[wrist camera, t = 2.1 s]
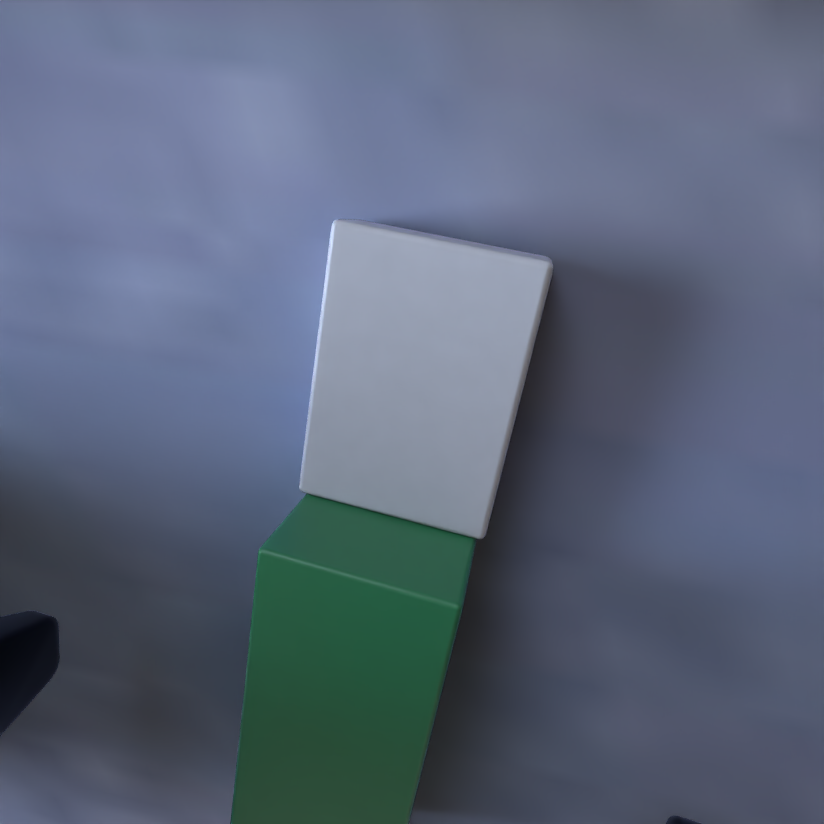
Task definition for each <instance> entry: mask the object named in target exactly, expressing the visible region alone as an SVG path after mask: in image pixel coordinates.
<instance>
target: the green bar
mask: <svg viewBox="0 0 824 824" xmlns="http://www.w3.org/2000/svg"><path fill="white" fill-rule="evenodd" d="M552 274H553V263H552V260H551V259H550V258H548V257H547V256H542V255H537V254H532V253H527V252H522V251H517V250H512V249H506V248H501V247H496V246H491V245H486V244H481V243H476V242H471V241H466V240H461V239H456V238H451V237H446V236H440V235H435V234H430V233H425V232H420V231H415V230H410V229H405V228H400V227H395V226H390V225H385V224H379V223H374V222H369V221H364V220H351V219H339V220H335V221H334V222H333V224H332V226H331V234H330V242H329V250H328V258H327V266H326V274H325V282H324V290H323V298H322V306H321V314H320V322H319V330H318V338H317V346H316V354H315V362H314V370H313V378H312V387H311V395H310V403H309V411H308V419H307V427H306V435H305V443H304V451H303V459H302V467H301V475H300V483H299V488H300V491H302V492H304V493H307V494H306V495H305V496H304V498H303V499H302V500H301V501H300V502H299V503H298V505H297V506H296V507H295V508H294V509H293V510H292V511H291V513H290V514H289V515H288V516H287V517H286V518H285V520H284V521H283V522H282V523H281V524H280V525H279V527H278V528H277V529H276V530H275V531H274V532H273V533H272V535H271V536H270V537H269V538H268V539H267V540H266V542H265V543H264V544H263V545H262V546H261V547H260V549H259V550H258V560H257V569H256V579H255V589H254V599H253V608H252V618H251V628H250V638H249V647H248V657H247V667H246V677H245V686H244V696H243V706H242V716H241V725H240V735H239V745H238V755H237V764H236V774H235V784H234V794H233V803H232V813H231V823H230V824H409V820H410V816H411V812H412V808H413V804H414V800H415V796H416V792H417V788H418V784H419V781H420V777H421V773H422V769H423V765H424V761H425V757H426V753H427V749H428V745H429V741H430V737H431V733H432V729H433V725H434V721H435V717H436V713H437V709H438V705H439V701H440V697H441V693H442V689H443V685H444V681H445V677H446V673H447V669H448V665H449V661H450V657H451V653H452V649H453V645H454V641H455V637H456V634H457V630H458V626H459V622H460V618H461V614H462V610H463V605H464V600H465V595H466V590H467V585H468V580H469V575H470V570H471V565H472V560H473V555H474V550H475V545H476V540H477V539H483V538H484V536H485V535H486V533H487V529H488V525H489V521H490V517H491V513H492V509H493V505H494V501H495V497H496V493H497V490H498V486H499V482H500V478H501V474H502V470H503V466H504V462H505V458H506V454H507V450H508V446H509V442H510V438H511V435H512V431H513V427H514V423H515V419H516V415H517V411H518V407H519V403H520V399H521V395H522V391H523V387H524V384H525V380H526V376H527V372H528V368H529V364H530V360H531V356H532V352H533V348H534V344H535V340H536V336H537V333H538V329H539V325H540V321H541V317H542V313H543V309H544V305H545V301H546V297H547V293H548V289H549V285H550V282H551V278H552Z"/></svg>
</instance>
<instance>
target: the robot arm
mask: <svg viewBox="0 0 824 824" xmlns="http://www.w3.org/2000/svg"><path fill="white" fill-rule="evenodd" d="M59 659H60V653H59V625H58V622H57V620H56V618H54V617H52V616H50V615H46V614H43V613H40V612H37V611H25V612H20V613H16V614H11V615H7V616H2V617H0V736H1V735H2V734H3V732H4V731H5V730H6V729H7V728H8V727H9V726H10V725H11V723H12V722H13V721H14V720H15V719H16V718H17V717H18V716H19V715H20V713H21V712H22V711H23V710H24V709H25V708H26V707H27V706H28V704H29V703H30V702H31V701H32V700H33V699H34V698H35V697H36V695H37V694H38V693H39V692H40V691H41V690H42V689H43V688H44V686H45V685H46V684H47V683H48V682H49V681H50V679H51V678H52V677H53V675H54V674H55V672H56V670H57V667H58V664H59ZM666 824H701V823H698V822H695V821H692V820H689V819H686V818H683V817H680V816H671V817H670V818H669V819H668V821H667V822H666Z"/></svg>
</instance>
